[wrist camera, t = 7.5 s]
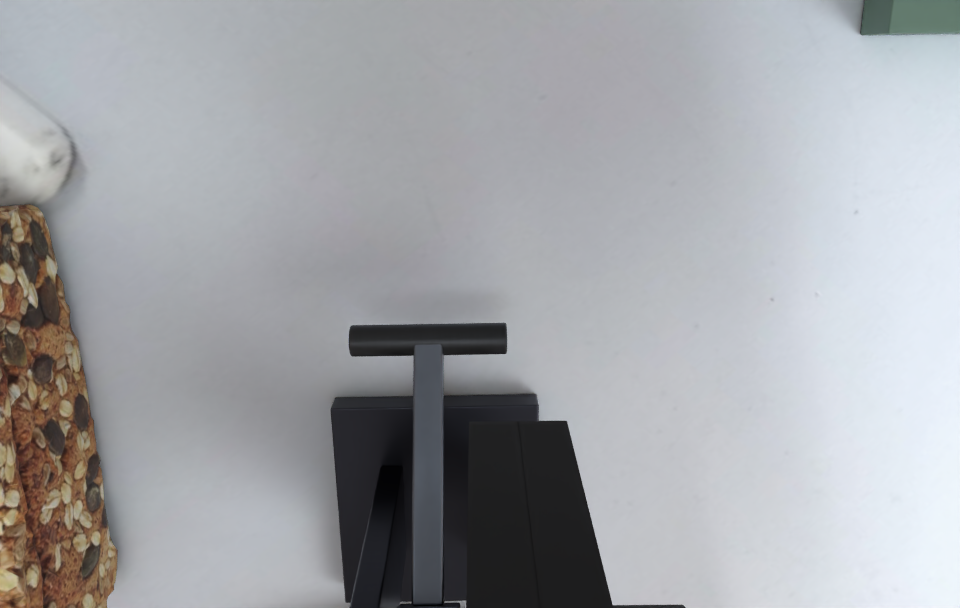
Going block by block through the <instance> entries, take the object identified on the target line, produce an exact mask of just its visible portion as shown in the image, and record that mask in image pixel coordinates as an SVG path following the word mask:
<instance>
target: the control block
mask: <svg viewBox="0 0 960 608" xmlns="http://www.w3.org/2000/svg"><path fill="white" fill-rule="evenodd" d="M914 34H960V0H865V2H864V10H863V18H862V26H861V35H914Z"/></svg>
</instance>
